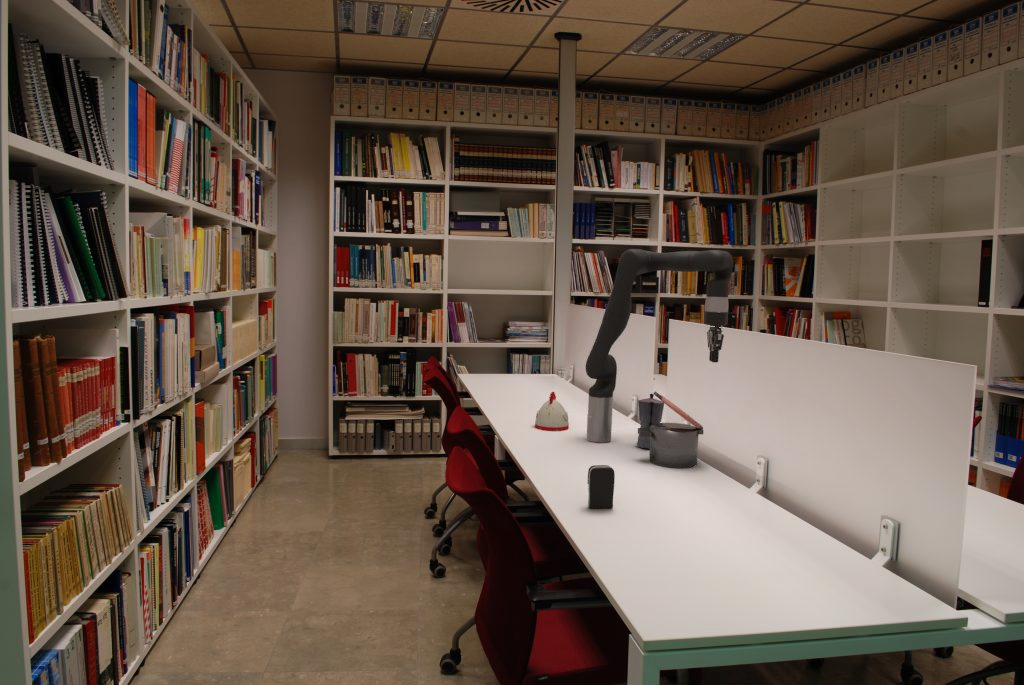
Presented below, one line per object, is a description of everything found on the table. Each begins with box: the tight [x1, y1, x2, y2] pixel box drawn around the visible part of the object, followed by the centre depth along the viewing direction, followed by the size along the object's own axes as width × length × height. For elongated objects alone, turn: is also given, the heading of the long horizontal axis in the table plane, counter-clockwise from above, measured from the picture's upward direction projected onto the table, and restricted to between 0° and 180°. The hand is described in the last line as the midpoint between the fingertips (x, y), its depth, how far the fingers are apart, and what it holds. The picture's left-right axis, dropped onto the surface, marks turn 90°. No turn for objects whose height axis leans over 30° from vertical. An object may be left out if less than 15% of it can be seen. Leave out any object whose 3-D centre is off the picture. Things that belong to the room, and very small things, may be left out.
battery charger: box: [587, 464, 616, 509], centre depth 190 cm, size 7×4×11 cm, turn 98°
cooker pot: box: [637, 422, 704, 469], centre depth 239 cm, size 21×16×12 cm
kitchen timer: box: [534, 391, 570, 432], centre depth 289 cm, size 14×14×15 cm
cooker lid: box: [652, 391, 704, 430], centre depth 238 cm, size 20×17×1 cm
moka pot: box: [636, 393, 665, 450], centre depth 259 cm, size 10×15×20 cm, turn 174°
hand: (713, 361), depth 236 cm, fingers closed
